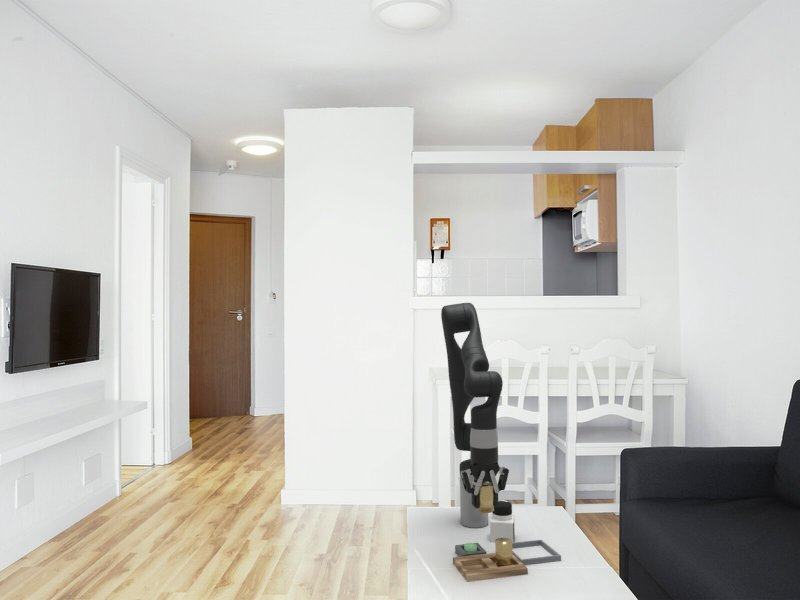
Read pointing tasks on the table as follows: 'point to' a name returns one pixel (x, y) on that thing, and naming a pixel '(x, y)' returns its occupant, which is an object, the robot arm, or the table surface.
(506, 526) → the medicine bottle
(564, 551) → the table surface
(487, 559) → the tray
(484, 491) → the cylinder
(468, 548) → the button
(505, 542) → the cylinder
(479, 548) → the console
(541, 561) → the tray
